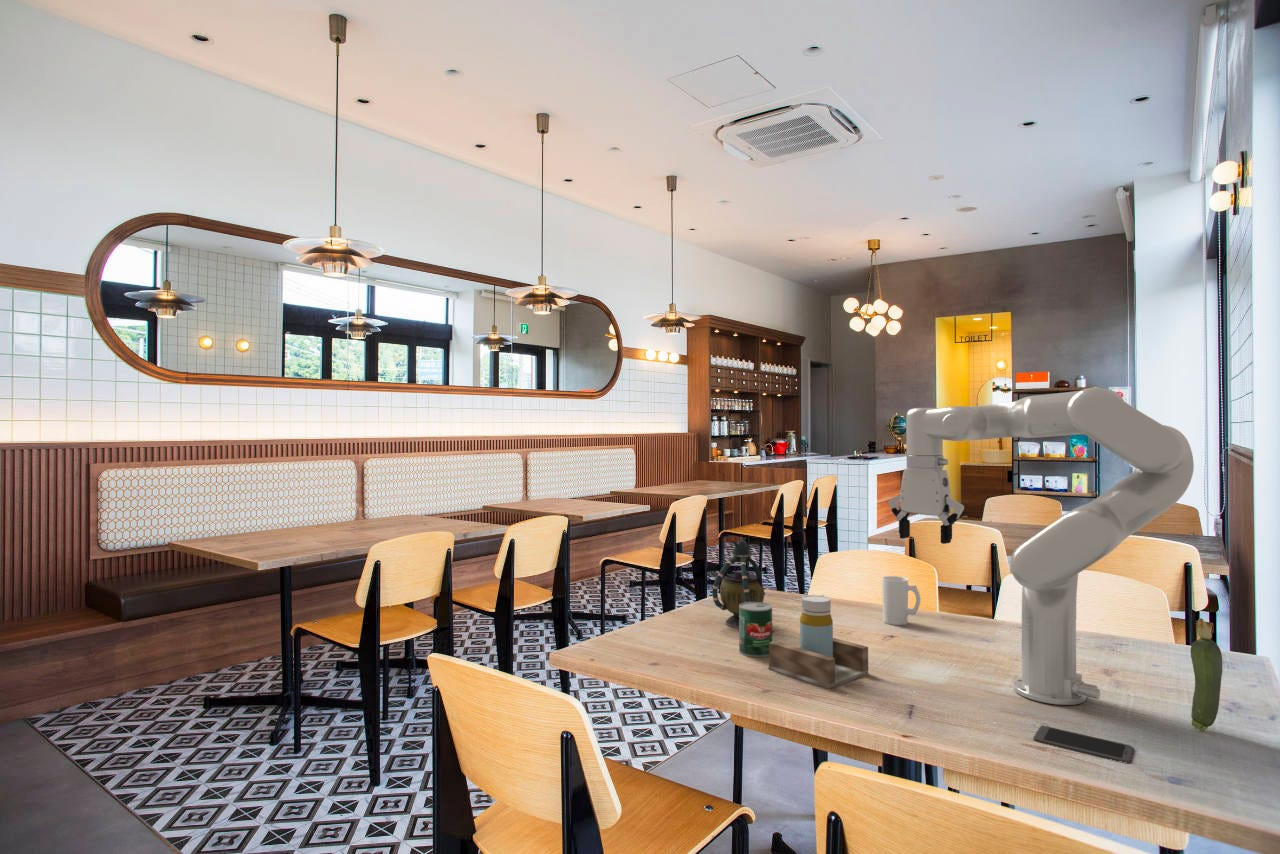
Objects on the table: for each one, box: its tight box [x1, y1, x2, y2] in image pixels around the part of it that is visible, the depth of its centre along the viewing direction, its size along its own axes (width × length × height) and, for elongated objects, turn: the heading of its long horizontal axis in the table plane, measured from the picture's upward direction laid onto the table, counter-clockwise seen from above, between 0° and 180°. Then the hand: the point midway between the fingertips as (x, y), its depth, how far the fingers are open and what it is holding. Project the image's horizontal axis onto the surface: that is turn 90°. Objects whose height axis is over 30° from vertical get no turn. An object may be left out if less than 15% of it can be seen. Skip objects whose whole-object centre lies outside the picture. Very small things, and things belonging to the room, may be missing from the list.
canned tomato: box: [738, 602, 773, 658], centre depth 172 cm, size 8×8×11 cm
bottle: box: [799, 594, 834, 658], centre depth 159 cm, size 7×7×15 cm
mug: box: [881, 575, 921, 626], centre depth 196 cm, size 10×7×12 cm, turn 52°
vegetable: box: [1190, 618, 1223, 732], centre depth 126 cm, size 4×4×20 cm
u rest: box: [768, 637, 869, 689], centre depth 158 cm, size 16×14×6 cm
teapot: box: [711, 538, 766, 629], centre depth 200 cm, size 12×25×23 cm, turn 151°
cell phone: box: [1032, 725, 1135, 764], centre depth 121 cm, size 7×14×1 cm, turn 51°
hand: (924, 540), depth 160 cm, fingers open, 9 cm apart
